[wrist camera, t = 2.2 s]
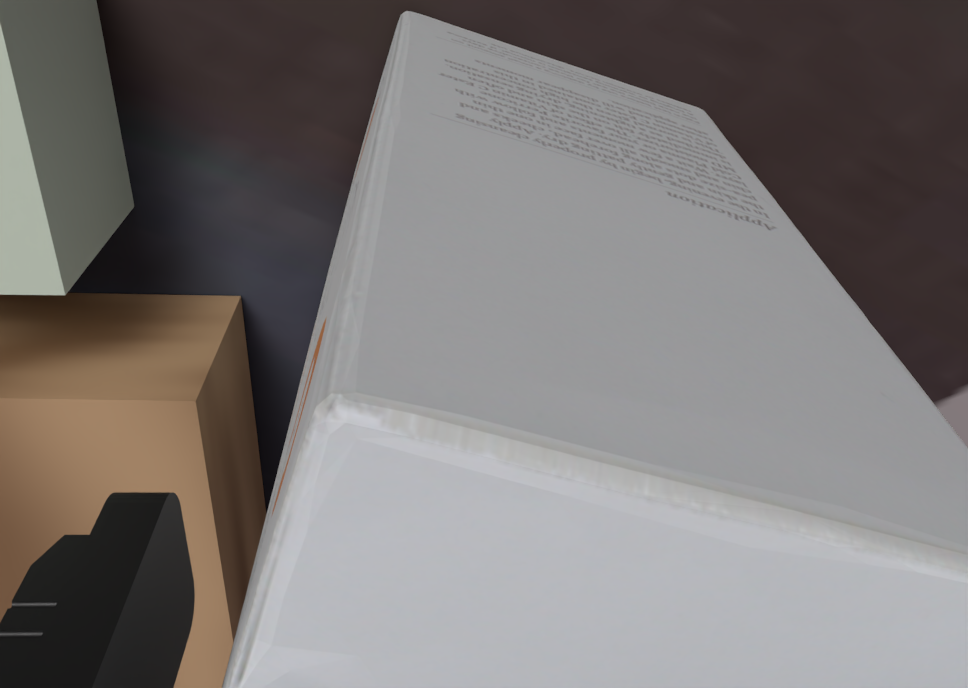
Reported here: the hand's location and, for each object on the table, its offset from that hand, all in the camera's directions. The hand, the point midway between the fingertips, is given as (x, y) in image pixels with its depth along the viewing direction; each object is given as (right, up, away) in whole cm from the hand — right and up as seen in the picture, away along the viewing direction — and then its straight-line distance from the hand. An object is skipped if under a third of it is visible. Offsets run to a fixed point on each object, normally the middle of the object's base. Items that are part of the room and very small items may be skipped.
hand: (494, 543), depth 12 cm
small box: (0, +5, +8) cm, 9 cm away
